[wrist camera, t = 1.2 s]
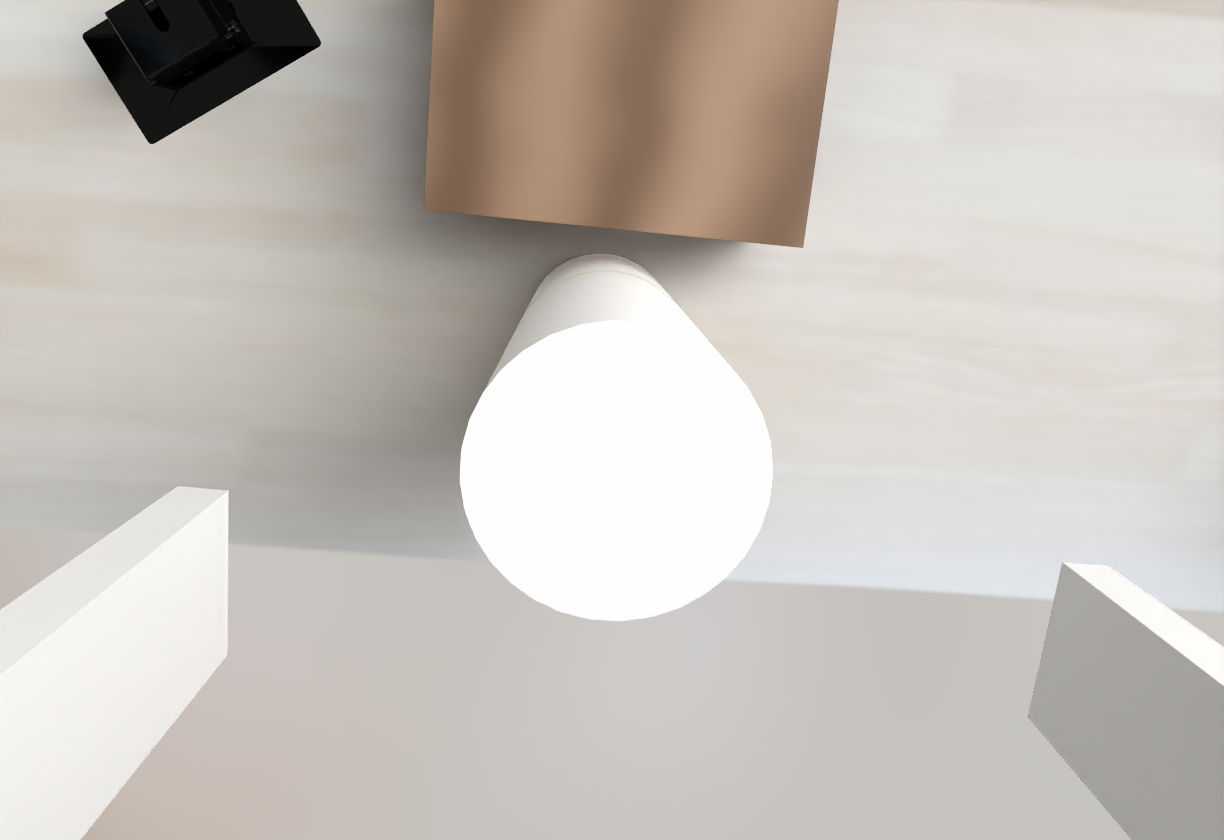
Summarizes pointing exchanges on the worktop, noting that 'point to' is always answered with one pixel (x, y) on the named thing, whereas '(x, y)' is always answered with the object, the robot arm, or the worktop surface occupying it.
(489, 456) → the cylindrical container
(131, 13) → the black box
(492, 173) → the brown flat-topped stand
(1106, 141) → the worktop surface
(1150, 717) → the robot arm
